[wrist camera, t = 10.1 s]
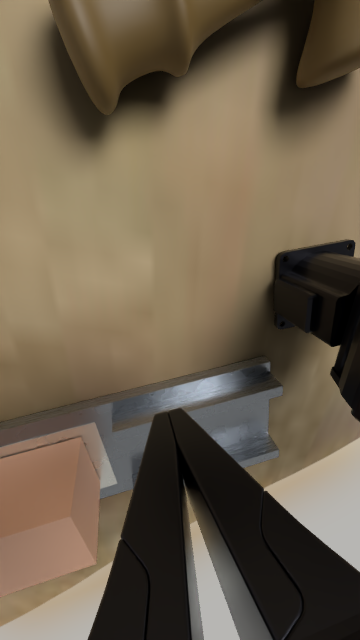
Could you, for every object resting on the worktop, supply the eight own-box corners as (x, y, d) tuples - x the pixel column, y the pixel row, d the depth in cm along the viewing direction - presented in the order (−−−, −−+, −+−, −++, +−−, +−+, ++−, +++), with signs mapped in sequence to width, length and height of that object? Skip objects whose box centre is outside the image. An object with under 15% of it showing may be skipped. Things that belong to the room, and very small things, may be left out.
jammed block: (81, 436, 21) (70, 516, 16) (100, 482, 24) (96, 563, 18) (-26, 465, 20) (-77, 562, 15) (6, 510, 23) (-27, 606, 17)
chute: (264, 355, 24) (283, 375, 21) (262, 439, 28) (278, 464, 26) (-51, 434, 20) (-77, 471, 17) (9, 516, 24) (-4, 554, 22)
